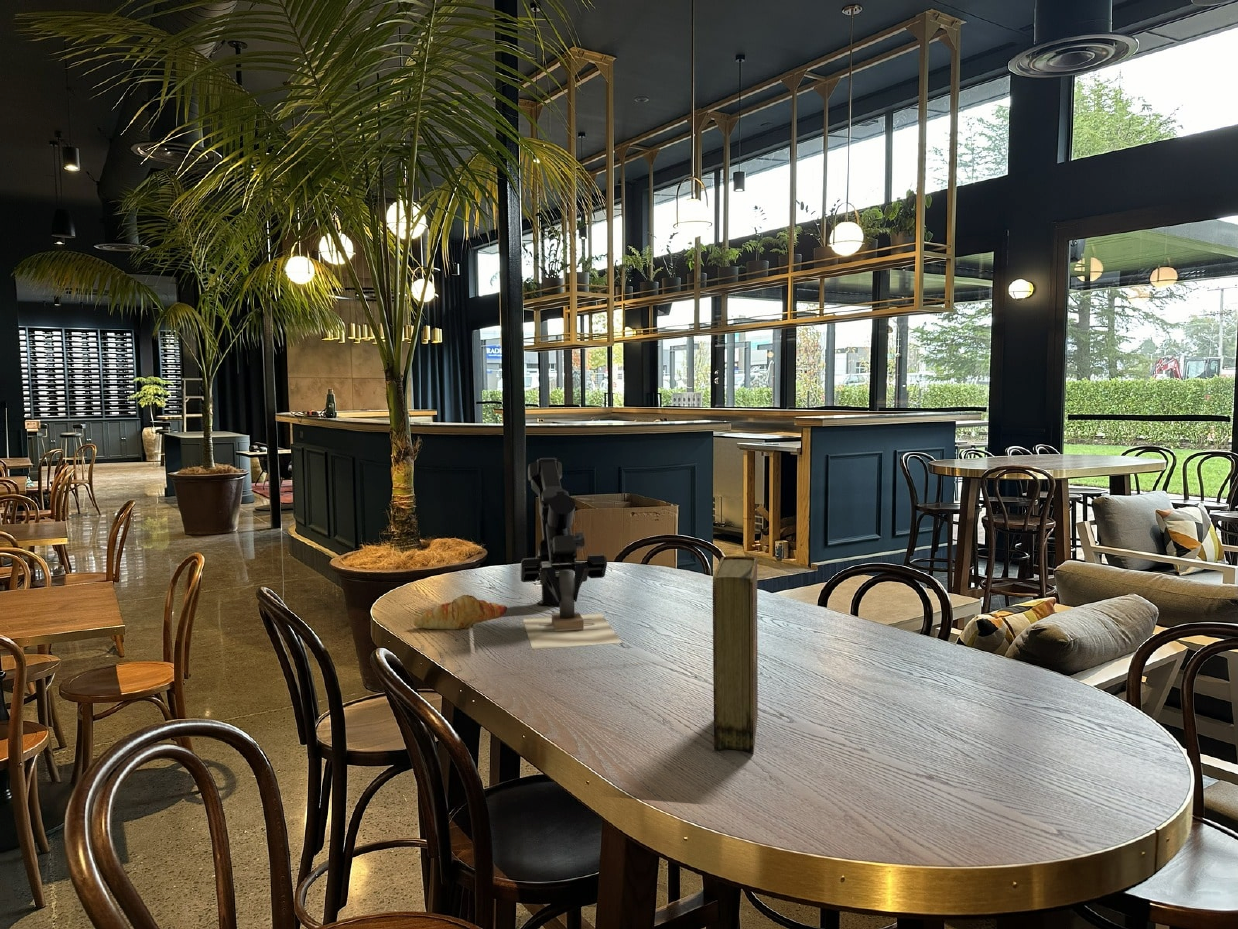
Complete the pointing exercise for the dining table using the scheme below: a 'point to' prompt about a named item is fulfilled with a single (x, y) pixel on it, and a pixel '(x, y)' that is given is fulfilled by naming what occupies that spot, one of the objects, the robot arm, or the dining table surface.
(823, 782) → the dining table surface
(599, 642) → the birch board
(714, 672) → the book
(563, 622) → the grey post on base
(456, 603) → the croissant
